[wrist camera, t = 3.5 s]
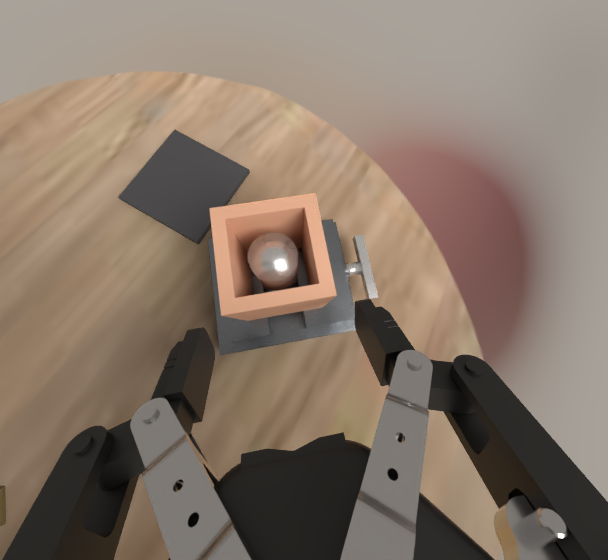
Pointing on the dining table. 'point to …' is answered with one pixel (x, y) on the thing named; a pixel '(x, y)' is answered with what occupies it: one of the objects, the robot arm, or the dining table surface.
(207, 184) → the mat
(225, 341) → the vise
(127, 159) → the dining table surface
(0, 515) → the eiffel tower
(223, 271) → the collar
